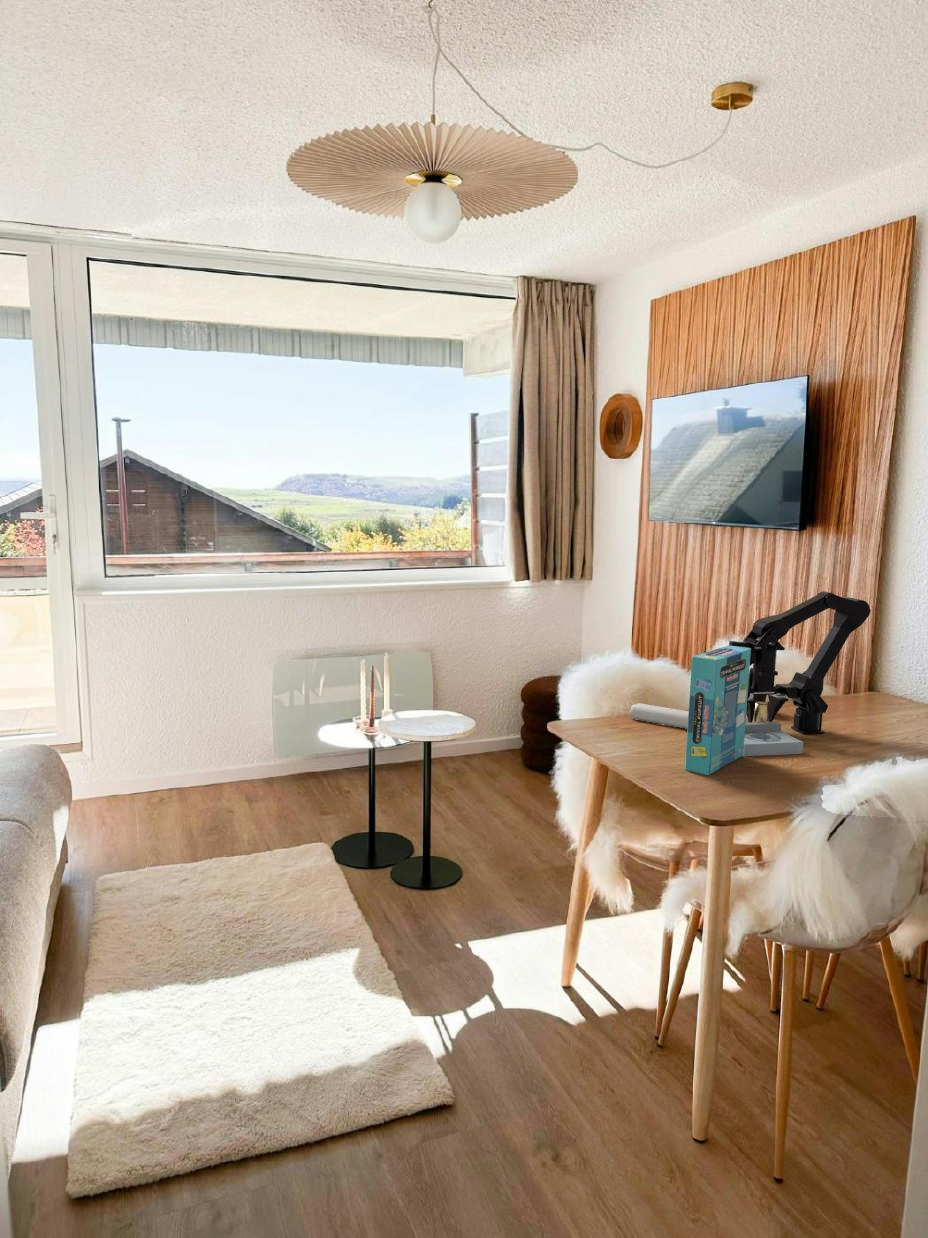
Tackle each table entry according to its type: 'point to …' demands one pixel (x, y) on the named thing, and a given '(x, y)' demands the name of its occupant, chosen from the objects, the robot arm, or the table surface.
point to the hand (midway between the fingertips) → (760, 722)
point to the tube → (660, 715)
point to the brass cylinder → (761, 712)
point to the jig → (769, 740)
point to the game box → (717, 708)
